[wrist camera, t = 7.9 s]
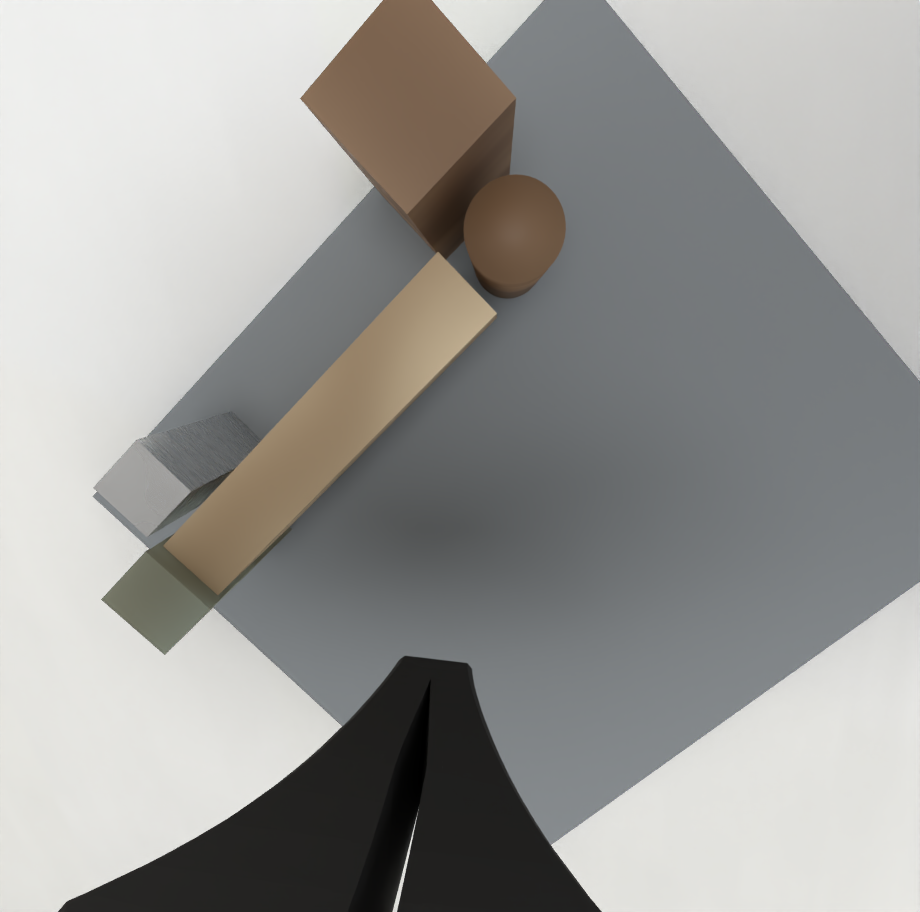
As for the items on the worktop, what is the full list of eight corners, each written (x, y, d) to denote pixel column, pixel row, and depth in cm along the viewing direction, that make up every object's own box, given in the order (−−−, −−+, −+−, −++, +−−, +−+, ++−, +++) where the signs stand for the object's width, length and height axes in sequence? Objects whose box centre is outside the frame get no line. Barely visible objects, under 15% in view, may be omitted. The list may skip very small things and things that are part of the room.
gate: (556, 263, 15) (587, 229, 10) (259, 562, 17) (161, 657, 12) (509, 212, 15) (515, 150, 10) (215, 521, 17) (97, 601, 12)
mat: (573, -26, 14) (575, -35, 14) (1011, 503, 17) (1023, 507, 16) (101, 492, 18) (92, 496, 18) (505, 866, 20) (506, 876, 20)
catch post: (237, 409, 17) (136, 440, 12) (275, 446, 18) (191, 491, 13) (204, 444, 18) (93, 487, 13) (242, 481, 18) (146, 537, 13)
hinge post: (446, 131, 15) (406, -29, 8) (507, 199, 16) (516, 97, 9) (385, 199, 16) (300, 98, 9) (444, 263, 16) (407, 214, 9)
